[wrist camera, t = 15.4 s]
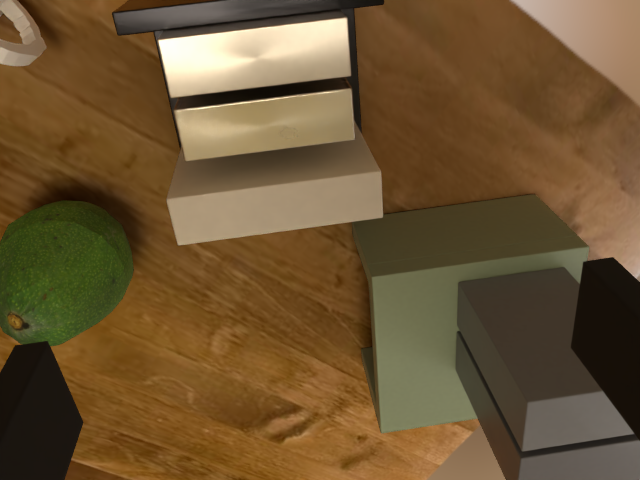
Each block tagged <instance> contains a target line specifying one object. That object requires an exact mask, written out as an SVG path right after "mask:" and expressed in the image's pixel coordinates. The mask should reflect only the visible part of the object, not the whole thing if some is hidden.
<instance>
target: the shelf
mask: <svg viewBox="0 0 640 480" xmlns="http://www.w3.org/2000/svg"><path fill="white" fill-rule="evenodd" d="M352 231H353V238H354V241H355V244H356V247H357V250H358V253H359V256H360V259H361V262H362V265H363V268H364V271H365V274H366V277H367V280H368V283H369V296H370V313H371V329H372V345H373V347H368V348H362V349H361V352H362V362H363V366H364V370H365V374H366V378H367V382H368V386H369V390H370V393H371V397H372V401H373V405H374V409H375V413H376V417H377V420H378V424H379V428H380V432H381V433H387V432H393V431H400V430H406V429H413V428H419V427H426V426H432V425H439V424H445V423H452V422H458V421H465V420H471V419H477V418H478V420H479V422H480V424H481V427H482V429H483V431H484V433H485V435H486V437H487V440H488V442H489V444H490V446H491V448H492V450H493V453H494V455H495V457H496V459H497V461H498V464H499V466H500V468H501V470H502V472H503V474H504V477H505V479H506V480H640V440H639V439H638V438H637V436H636V435H635V434H634V432H633V431H632V430H631V428H630V427H629V426H628V424H627V423H626V422H625V420H624V419H623V418H622V416H621V415H620V414H619V412H618V411H617V409H616V408H615V407H614V405H613V404H612V403H611V401H610V400H609V399H608V397H607V396H606V395H605V393H604V392H603V391H602V389H601V388H600V387H599V385H598V384H597V382H596V381H595V380H594V378H593V377H592V376H591V374H590V373H589V372H588V370H587V369H586V368H585V366H584V365H583V364H582V362H581V361H580V360H579V358H578V357H577V356H576V354H575V353H574V351H573V350H572V349H571V342H572V335H573V328H574V321H575V314H576V307H577V300H578V293H579V287H580V280H581V273H582V266H583V262H585V261H587V257H588V251H589V246H588V245H587V244H586V243H585V242H584V241H583V240H582V239H581V238H580V237H579V236H577V234H576V233H575V232H574V231H573V230H571V229H570V228H569V227H568V226H567V225H566V224H565V223H564V222H563V221H562V220H561V219H560V218H559V217H558V216H557V215H556V214H555V213H554V212H553V211H552V210H551V209H550V208H549V207H548V206H547V205H546V204H545V203H544V202H543V201H542V200H540V199H539V198H538V197H537V196H536V195H535V194H531V195H524V196H516V197H509V198H502V199H494V200H487V201H480V202H472V203H465V204H457V205H450V206H443V207H435V208H428V209H421V210H413V211H406V212H398V213H391V214H384V215H383V217H382V218H377V219H369V220H362V221H355V222H352Z"/></svg>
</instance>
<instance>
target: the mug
mask: <svg viewBox="0 0 640 480" xmlns="http://www.w3.org/2000/svg"><path fill="white" fill-rule="evenodd" d="M3 13H4V14H5V15H6V16H7V18H9V19H10V20H11V21H12V22H14V26H15V27H16V29H17V30H18V31H19V32H20V34H19V35H20V36H21V37H22V43H23V44H16V43H11V42H8V41H4V40H2V39H0V64H5V65H10V66H27V65H30V64H31V63H32V62H33V61H34V60H35V59H37V58H38V57H39V56H40V55H42V54H43V51H44V50H45V49H46V48H47V47H46V45H45V43H44V39H43V38H42V37H41V36H40V35H41V34H40V31H39V28H38V26H37V25H36V23H35V21H34V20H33V18H32V17H31V16H30V14H29V13H28V12H27V11H26V9H25V8H24V7H23V6H22V5H21V4H20V3H19V2H18V1H17V0H0V16H1V15H2V14H3Z"/></svg>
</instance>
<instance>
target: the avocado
mask: <svg viewBox="0 0 640 480" xmlns="http://www.w3.org/2000/svg"><path fill="white" fill-rule="evenodd" d="M133 271H134V269H133V260H132V252H131V248H130V245H129V241H128V239H127V237H126V234H125V232H124V229H123V227H122V225H121V224H120V223H119V222H118V221H117V220H115V219H114V218H113V217H112V216H111V215H110V214H109V213H108V212H107V211H106V210H105V209H103V208H101V207H98V206H96V205H94V204H91V203H88V202H83V201H66V200H62V201H58V202H54V203H50V204H46V205H43V206H41V207H39V208H36V209H34V210H32V211H30V212H28V213H27V214H25V215H23V216H22V217H20V218H19V219H17V220H15V221H14V222H12V223H11V224H9V225H8V227H7V229H6V231H5V233H4V235H3V237H2V239H1V241H0V326H1V328H2V330H3V332H4V333H6V334H7V335H9V336H11V337H12V338H13V339H15V340H16V341H18V342H19V343H20V344H29V343H36V342H43V341H48V343H49V345H50V346H56V345H60V344H62V343H64V342H66V341H68V340H69V339H71V338H73V337H75V336H76V335H78V334H80V333H82V332H83V331H85V330H87V329H88V328H90V327H92V326H93V325H95V324H97V323H98V322H100V321H101V320H102V319H103V318H105V317H106V316H107V315H108V314H110V313H111V312H112V311H113V309H114V308H115V307H116V306H117V305H118V303H119V302H120V301H121V300H122V298H123V296H124V294H125V292H126V290H127V287H128V285H129V283H130V281H131V278H132V275H133Z"/></svg>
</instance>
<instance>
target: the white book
mask: <svg viewBox="0 0 640 480" xmlns="http://www.w3.org/2000/svg"><path fill="white" fill-rule="evenodd" d="M354 124H355V140H352V141H345V142H337V143H329V144H321V145H314V146H306V147H298V148H290V149H283V150H275V151H267V152H259V153H251V154H244V155H236V156H228V157H220V158H213V159H205V160H197V161H189V162H185V160H184V156H183V151H182V147H181V149H180V153H179V156H178V160H177V164H176V167H175V171H174V174H173V178H172V181H171V185H170V188H169V192H168V196H167V199H166V201H167V205H168V209H169V213H170V217H171V221H172V225H173V229H174V233H175V236H176V240H177V244H178V245H185V244H193V243H200V242H207V241H215V240H222V239H230V238H237V237H244V236H252V235H259V234H266V233H274V232H281V231H288V230H296V229H303V228H310V227H318V226H325V225H333V224H340V223H347V222H355V221H362V220H369V219H377V218H382V217H383V201H382V178H381V170H380V168H379V167H378V165H377V163H376V161H375V159H374V157H373V155H372V153H371V151H370V149H369V147H368V146H367V144H366V142H365V140H364V138H363V136H362V134H361V132H360V130H359V128H358V126H357V125H356V123H355V121H354Z"/></svg>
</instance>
